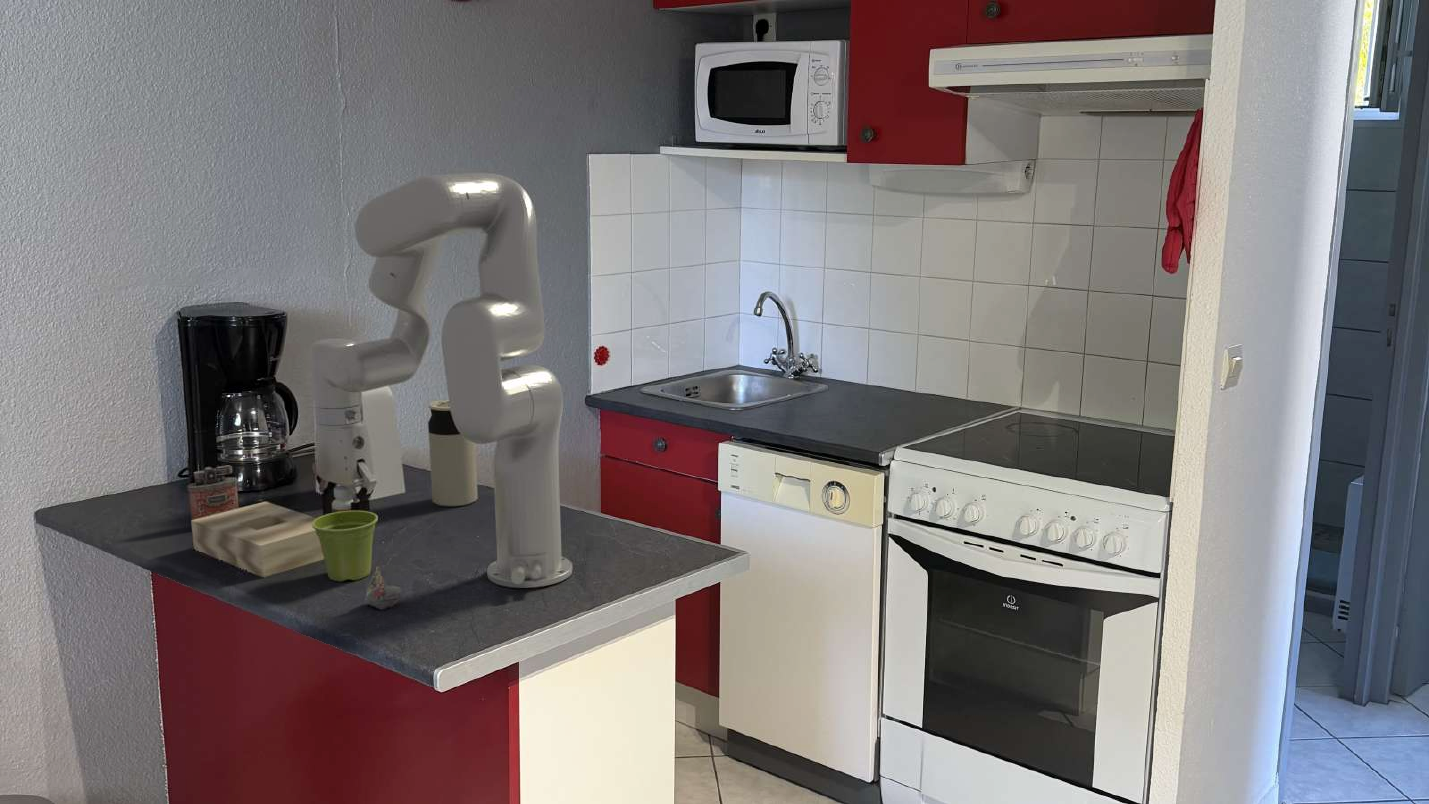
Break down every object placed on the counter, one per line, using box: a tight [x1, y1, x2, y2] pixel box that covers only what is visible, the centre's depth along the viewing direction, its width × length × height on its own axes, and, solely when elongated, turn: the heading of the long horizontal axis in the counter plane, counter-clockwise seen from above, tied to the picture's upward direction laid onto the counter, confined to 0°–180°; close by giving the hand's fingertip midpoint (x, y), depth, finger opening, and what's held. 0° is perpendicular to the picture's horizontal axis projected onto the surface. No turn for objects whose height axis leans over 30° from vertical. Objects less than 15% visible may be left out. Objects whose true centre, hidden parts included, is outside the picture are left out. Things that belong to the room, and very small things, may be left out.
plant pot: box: [312, 511, 379, 582], centre depth 184 cm, size 9×9×9 cm
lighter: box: [186, 464, 240, 528], centre depth 208 cm, size 8×3×10 cm, turn 129°
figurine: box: [364, 565, 403, 611], centre depth 172 cm, size 5×4×6 cm
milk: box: [313, 386, 406, 501], centre depth 225 cm, size 12×12×26 cm
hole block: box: [190, 501, 324, 578], centre depth 194 cm, size 20×13×5 cm, turn 51°
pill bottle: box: [332, 485, 354, 513], centre depth 204 cm, size 4×4×8 cm
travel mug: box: [427, 399, 478, 508], centre depth 220 cm, size 8×8×18 cm
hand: (346, 518), depth 204 cm, fingers open, 7 cm apart
